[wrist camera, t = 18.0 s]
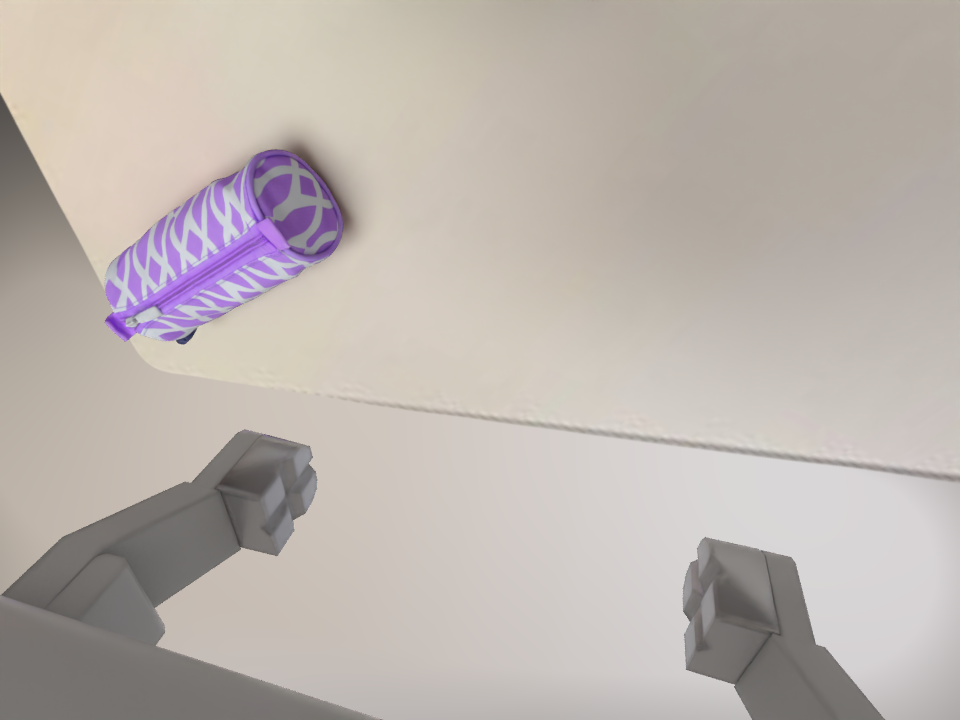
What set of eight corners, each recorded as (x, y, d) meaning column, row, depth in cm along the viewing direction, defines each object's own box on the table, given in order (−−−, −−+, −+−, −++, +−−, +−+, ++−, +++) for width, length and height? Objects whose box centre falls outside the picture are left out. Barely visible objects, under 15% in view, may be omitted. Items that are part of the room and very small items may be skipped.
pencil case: (214, 320, 54) (144, 375, 47) (145, 242, 51) (57, 288, 43) (370, 225, 44) (312, 277, 36) (296, 118, 40) (214, 150, 33)
